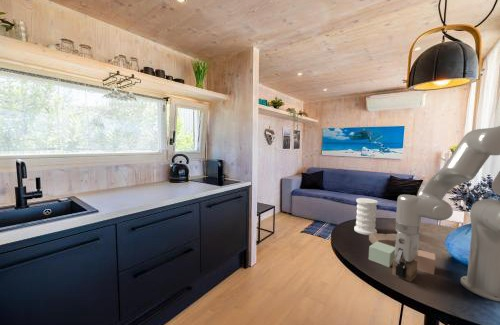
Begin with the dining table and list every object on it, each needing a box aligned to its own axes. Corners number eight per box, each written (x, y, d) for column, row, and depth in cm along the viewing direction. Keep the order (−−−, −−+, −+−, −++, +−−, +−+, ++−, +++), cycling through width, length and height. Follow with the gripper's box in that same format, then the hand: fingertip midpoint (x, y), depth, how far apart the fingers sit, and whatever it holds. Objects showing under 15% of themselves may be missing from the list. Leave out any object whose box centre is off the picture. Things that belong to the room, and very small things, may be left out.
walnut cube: (416, 276, 84) (417, 261, 84) (410, 282, 81) (411, 266, 80) (398, 269, 89) (399, 254, 88) (392, 274, 85) (393, 259, 85)
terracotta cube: (433, 268, 90) (435, 253, 89) (434, 274, 85) (435, 260, 85) (415, 262, 94) (416, 249, 93) (414, 269, 89) (415, 254, 88)
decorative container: (349, 229, 130) (351, 199, 128) (362, 225, 135) (363, 197, 133) (368, 236, 119) (370, 204, 118) (381, 232, 125) (383, 201, 123)
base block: (395, 261, 95) (396, 247, 95) (389, 267, 90) (389, 253, 90) (376, 253, 101) (376, 241, 101) (368, 259, 96) (369, 246, 96)
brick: (399, 241, 115) (399, 232, 115) (411, 248, 107) (411, 239, 106) (367, 241, 115) (368, 232, 114) (377, 249, 106) (378, 239, 106)
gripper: (410, 237, 75) (406, 287, 77) (427, 226, 85) (423, 270, 87) (386, 230, 81) (383, 276, 83) (404, 220, 91) (401, 262, 93)
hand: (404, 273), depth 85 cm, fingers closed on walnut cube, 6 cm apart
